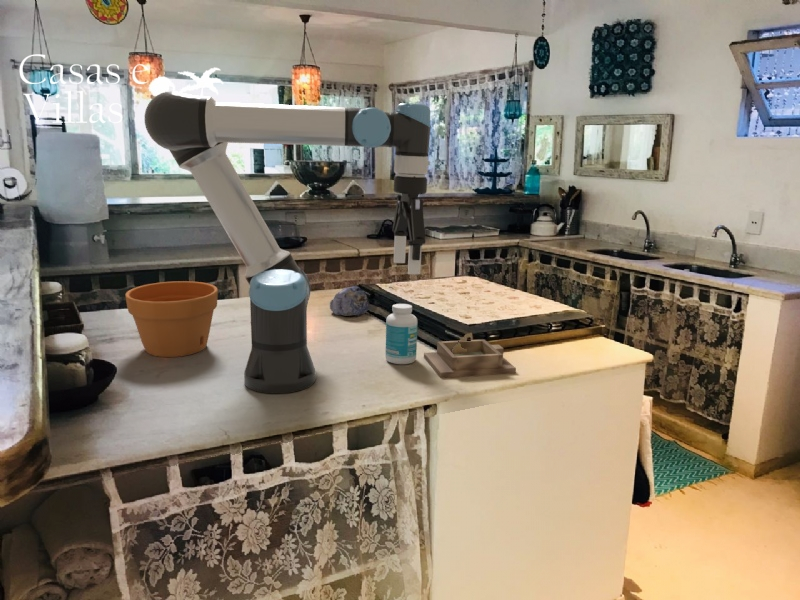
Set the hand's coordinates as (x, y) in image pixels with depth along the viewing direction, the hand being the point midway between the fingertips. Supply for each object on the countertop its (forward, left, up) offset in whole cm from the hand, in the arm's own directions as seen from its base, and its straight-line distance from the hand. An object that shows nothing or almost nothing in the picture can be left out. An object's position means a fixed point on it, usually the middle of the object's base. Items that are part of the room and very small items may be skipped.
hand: (406, 268), depth 150 cm
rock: (-7, +45, -23) cm, 51 cm away
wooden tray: (+14, -6, -22) cm, 27 cm away
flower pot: (-54, +18, -23) cm, 61 cm away
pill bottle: (-1, 0, -23) cm, 23 cm away
